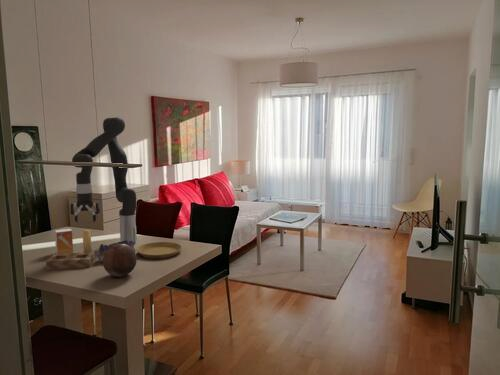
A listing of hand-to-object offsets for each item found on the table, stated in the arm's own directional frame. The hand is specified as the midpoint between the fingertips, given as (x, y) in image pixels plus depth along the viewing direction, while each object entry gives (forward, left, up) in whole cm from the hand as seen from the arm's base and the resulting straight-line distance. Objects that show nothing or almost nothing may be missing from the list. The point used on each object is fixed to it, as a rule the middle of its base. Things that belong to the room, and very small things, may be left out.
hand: (85, 221), depth 211 cm
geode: (-16, +6, -19) cm, 26 cm away
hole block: (+5, +13, -19) cm, 24 cm away
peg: (0, 0, -19) cm, 19 cm away
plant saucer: (-38, +1, -20) cm, 43 cm away
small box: (+14, -8, -19) cm, 25 cm away
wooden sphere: (-22, +34, -19) cm, 45 cm away
